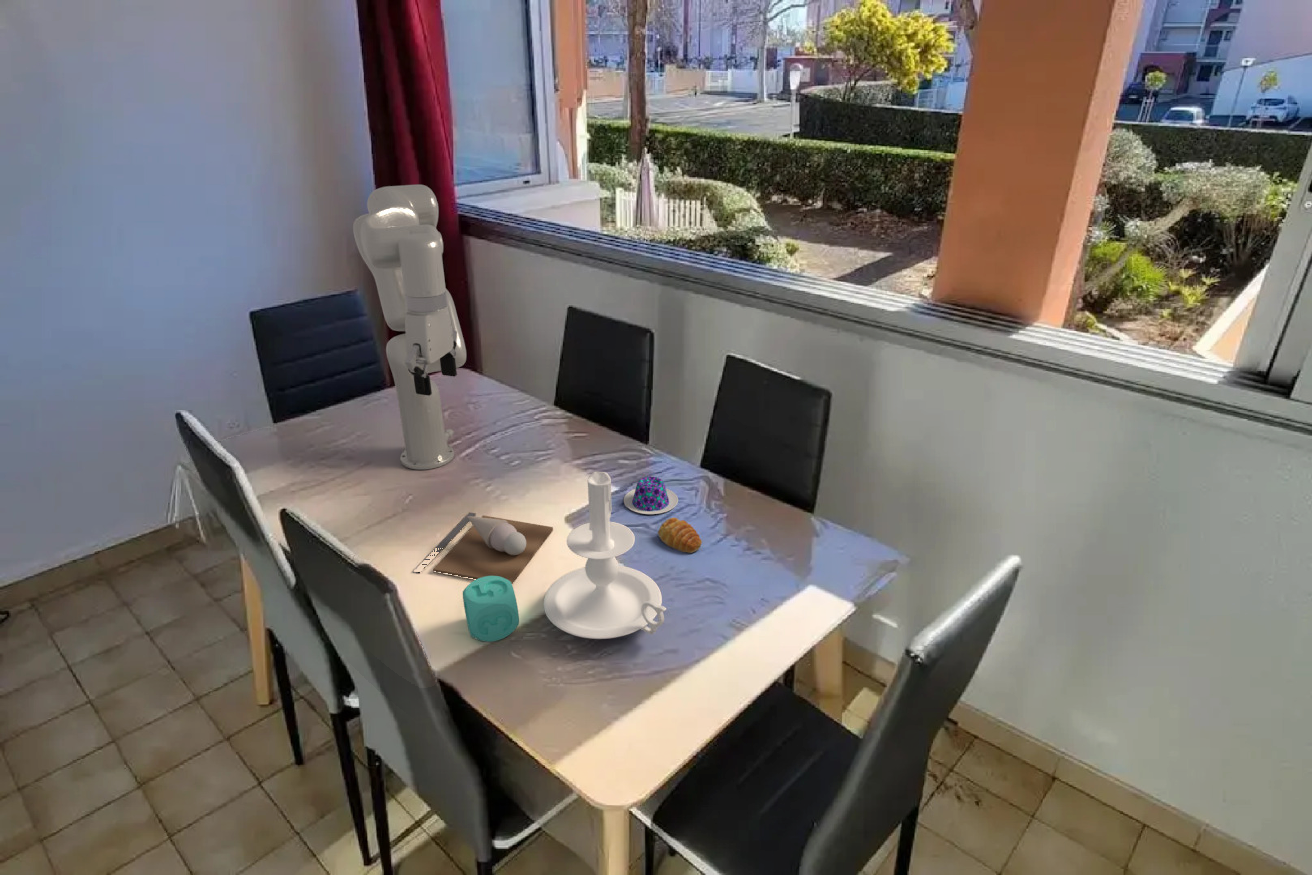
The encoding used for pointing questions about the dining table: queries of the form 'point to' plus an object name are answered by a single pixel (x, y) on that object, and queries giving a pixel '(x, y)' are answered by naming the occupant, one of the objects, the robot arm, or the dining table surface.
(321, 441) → the dining table surface
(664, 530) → the pastry
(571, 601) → the candlestick
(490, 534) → the ice cream cone
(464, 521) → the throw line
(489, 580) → the decorative dice
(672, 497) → the pudding
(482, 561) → the board
